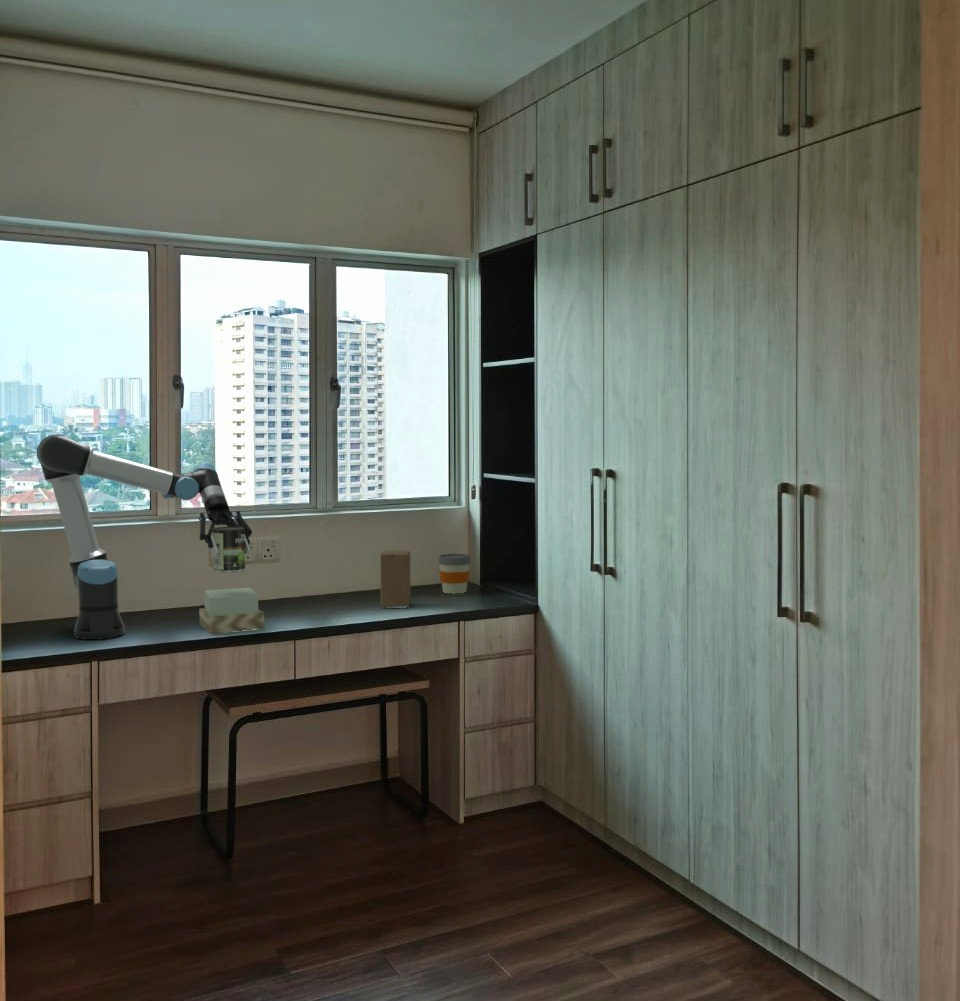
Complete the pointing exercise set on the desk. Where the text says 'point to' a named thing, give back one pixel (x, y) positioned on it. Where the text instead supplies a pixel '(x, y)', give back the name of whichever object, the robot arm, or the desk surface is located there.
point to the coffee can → (229, 549)
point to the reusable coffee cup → (454, 572)
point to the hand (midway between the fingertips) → (232, 553)
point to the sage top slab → (231, 601)
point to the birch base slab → (231, 622)
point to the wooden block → (395, 578)
